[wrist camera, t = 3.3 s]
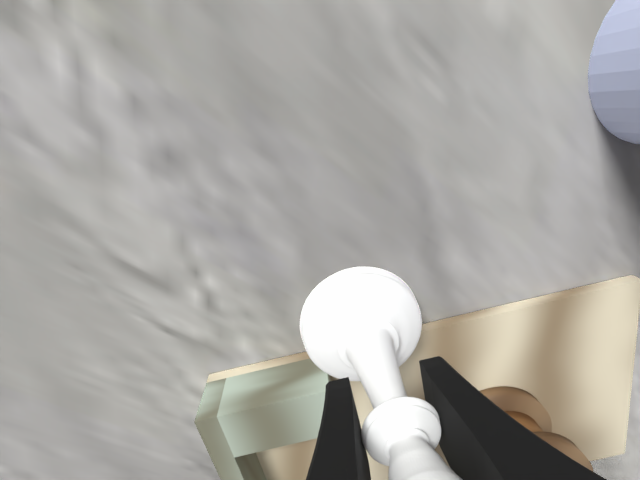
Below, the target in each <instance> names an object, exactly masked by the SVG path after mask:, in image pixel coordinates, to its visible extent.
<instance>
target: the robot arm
mask: <svg viewBox="0 0 640 480" xmlns="http://www.w3.org/2000/svg"><path fill="white" fill-rule="evenodd" d="M588 86H589V95H590V99H591V103H592V107H593V109H594V111H595V113H596V115H597V117H598V119H599V121H600V122H601V123H602V124H603V125H604V127H605V128H606V129H607V130H608V131H609V132H610V133H612V134H613V135H615V136H616V137H618V138H619V139H621V140H624V141H627V142H630V143H633V144H640V0H616V1H615V2H614V4H613V5H612V7H611V8H610V10H609V12H608V13H607V15H606V16H605V18H604V20H603V22H602V24H601V27H600V29H599V31H598V33H597V35H596V38H595V41H594V45H593V48H592V52H591V55H590V62H589V70H588ZM419 364H420V370H421V377H422V383H423V390H424V396H425V401H426V402H428V403H429V404H431V405H432V406H433V407H434V408H435V410H436V411H437V413H438V415H439V420H440V425H441V438H440V441H439V445H440V448H441V450H442V452H443V454H444V456H445V458H446V460H447V462H448V464H449V466H450V468H451V469H452V470H453V471H454V472H455V473H456V474H457V475H458V476H459V477H460V478H461V479H463V480H606V479H604V478H603V477H601V476H599V475H598V474H596V473H594V472H593V471H591V470H589V469H588V468H586V467H584V466H583V465H581V464H580V463H578V462H576V461H575V460H573V459H571V458H570V457H568V456H567V455H565V454H564V453H562V452H561V451H559V450H558V449H556V448H554V447H553V446H551V445H550V444H548V443H547V442H546V441H544V440H543V439H541V438H540V437H538V436H537V435H535V434H534V433H533V432H531V431H530V430H528V429H527V428H526V427H524V426H523V425H522V424H520V423H519V422H518V421H516V420H515V419H514V418H512V417H511V416H510V415H508V414H507V413H506V412H504V411H503V410H502V409H501V408H499V407H498V406H497V405H496V404H494V403H493V402H492V401H491V400H489V399H488V398H487V397H486V396H485V395H483V394H482V393H481V392H480V391H479V390H477V389H476V388H475V387H474V386H473V385H472V384H470V383H469V382H468V381H467V380H466V379H465V378H464V377H463V376H461V375H460V374H459V373H458V372H457V371H456V370H455V369H454V368H453V367H452V366H451V365H450V364H449V363H447V362H446V361H445V360H444V359H443V358H442V357H440V356H437V357H433V358H428V359H424V360H420V361H419ZM306 480H371V475H370V467H369V462H368V457H367V452H366V448H365V447H364V445H363V442H362V438H361V425H360V421H359V417H358V413H357V409H356V405H355V401H354V397H353V393H352V389H351V385H350V381H349V377H346V378H342V379H338V380H333V381H329V382H328V383H327V384H326V390H325V401H324V408H323V414H322V419H321V424H320V429H319V433H318V437H317V441H316V446H315V450H314V453H313V457H312V460H311V463H310V467H309V470H308V474H307V477H306Z"/></svg>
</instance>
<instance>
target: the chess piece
mask: <svg viewBox="0 0 640 480" xmlns="http://www.w3.org/2000/svg"><path fill="white" fill-rule="evenodd" d="M421 330H422V316H421V311H420V308H419V305H418V303H417V301H416V298H415V296H414V294H413V292H412V290H411V289H410V287H409V286H408V285H407V284H406V283H405V282H404V281H403V280H402V279H401V278H399V277H398V276H396V275H395V274H393V273H391V272H389V271H387V270H384V269H380V268H376V267H353V268H348V269H345V270H342V271H339V272H337V273H335V274H333V275H331V276H329V277H327V278H326V279H324V280H323V281H322V282H321V283H319V284H318V285H317V286H316V287H315V288H314V289H313V291H312V292H311V293H310V295H309V296H308V298H307V299H306V301H305V303H304V306H303V308H302V312H301V316H300V333H301V338H302V341H303V343H304V347H305V349H306V352H307V354H308V355H309V357H310V359H311V360H312V361H313V362H314V364H315V365H316V366H317V367H318V368H320V369H321V370H322V371H324V372H325V373H327V374H329V375H331V376H333V377H335V378H338V379H342V378H346V377H349V381H361V383H362V385H363V387H364V389H365V391H366V393H367V395H368V397H369V400H370V402H371V404H372V407H373V410H372V411H371V412H370V413H369V415H368V416H367V417H366V419H365V421H364V423H363V426H362V430H361V438H362V442H363V445H364V447H365V448H366V450H367V451H368V453H369V455H370V456H371V457H372V458H373V459H374V460H375V461H377V462H378V463H380V464H383V465H385V466H389V471H388V479H389V480H463V479H461V478H460V477H459V476H458V475H457V474H456V473H455V472H454V471H453V470H452V469H451V468H450V467H449V466H448V465H447V464H446V463H445V461H444V460H443V459H442V457H441V456H440V455H439V454H438V453H437V452H436V451H435V448H436V447H437V445H438V443H439V441H440V438H441V425H440V420H439V415H438V413H437V411H436V410H435V408H434V407H433V406H432V405H431V404H429V403H428V402H426V401H424V400H422V399H419V398H415V397H407V394H406V391H405V388H404V385H403V381H402V378H401V374H400V370H399V367H400V366H401V365H402V364H403V363H404V362H405V361H406V360H407V359H408V358H409V357H410V355H411V354H412V353H413V351H414V349H415V348H416V346H417V344H418V341H419V338H420V335H421Z"/></svg>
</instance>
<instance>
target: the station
mask: <svg viewBox="0 0 640 480" xmlns="http://www.w3.org/2000/svg"><path fill="white" fill-rule="evenodd" d="M639 309H640V279H639V278H637V277H635V276H633V275H628V276H624V277H620V278H616V279H611V280H607V281H603V282H599V283H595V284H590V285H586V286H582V287H578V288H573V289H569V290H565V291H561V292H556V293H552V294H548V295H544V296H539V297H535V298H531V299H527V300H522V301H518V302H514V303H510V304H506V305H501V306H497V307H493V308H489V309H484V310H480V311H476V312H472V313H467V314H463V315H459V316H455V317H450V318H446V319H442V320H438V321H433V322H429V323H425V324H422V330H421V335H420V338H419V341H418V344H417V346H416V348H415V349H414V351H413V353H412V354H411V355H410V357H409V358H408V359H407V360H406V361H405V362H404V363H403V364H402V365H401V366H400V367H399V370H400V374H401V378H402V381H403V385H404V388H405V391H406V394H407V397H415V398H419V399H422V400H424V401H425V396H424V390H423V383H422V377H421V370H420V364H419V361H420V360H424V359H428V358H433V357H437V356H440V357H442V358H443V359H444V360H445V361H446V362H447V363H449V364H450V365H451V366H452V367H453V368H454V369H455V370H456V371H457V372H458V373H459V374H460V375H461V376H463V377H464V378H465V379H466V380H467V381H468V382H469V383H470V384H472V385H473V386H474V387H475V388H476V389H477V390H479V391H480V392H481V393H482V394H483V395H485V396H486V397H487V398H488V399H489V400H491V401H492V402H493V403H494V404H496V405H497V406H498V407H499V408H501V409H502V410H503V411H504V412H506V413H507V414H508V415H510V416H511V417H512V418H514V419H515V420H516V421H518V422H519V423H520V424H522V425H523V426H524V427H526V428H527V429H528V430H530V431H531V432H533V433H534V434H535V435H537V436H538V437H540V438H541V439H543V440H544V441H546V442H547V443H548V444H550V445H551V446H553V447H554V448H556V449H558V450H559V451H561V452H562V453H564V454H565V455H567V456H568V457H570V458H571V459H573V460H575V461H576V462H578V463H580V464H581V465H583V466H584V467H586V468H588V469H589V470H591V471H593V468H592V465H591V463H590V461H594V460H598V459H603V458H607V457H611V456H616V455H620V454H624V453H625V446H626V437H627V427H628V417H629V407H630V397H631V388H632V378H633V368H634V358H635V348H636V339H637V329H638V319H639ZM333 380H338V378H335V377H333V376H331V375H329V374H327V373H325V372H324V371H322V370H321V369H320V368H318V367H317V366H316V365H315V364H314V362H313V361H312V360H311V359H310V357H309V355H308V354H307V352H302V353H298V354H294V355H289V356H285V357H281V358H277V359H272V360H268V361H264V362H260V363H255V364H251V365H247V366H243V367H238V368H234V369H230V370H226V371H221V372H217V373H213V374H209V377H208V380H207V383H206V386H205V390H204V393H203V396H202V399H201V402H200V406H199V409H198V412H197V415H196V418H195V425H196V427H197V429H198V431H199V433H200V435H201V438H202V440H203V442H204V444H205V446H206V448H207V451H208V453H209V455H210V457H211V459H212V462H213V464H214V466H215V468H216V470H217V472H218V475H219V477H220V479H221V480H306V477H307V474H308V470H309V467H310V463H311V460H312V457H313V453H314V450H315V446H316V441H317V437H318V433H319V429H320V424H321V419H322V414H323V408H324V401H325V390H326V384H327V383H328V382H329V381H333ZM350 385H351V389H352V393H353V397H354V401H355V405H356V409H357V413H358V417H359V421H360V425H361V430H362V426H363V423H364V421H365V419H366V417H367V416H368V415H369V413H370V412H371V411H372V410H373V407H372V404H371V402H370V400H369V397H368V395H367V393H366V391H365V389H364V387H363V385H362V383H361V381H350ZM435 451H436V452H437V453H438V454H439V455H440V456H441V457H442V459H443V460H444V461H445V463H446V464H447V465H448V466H449V464H448V462H447V460H446V458H445V456H444V454H443V452H442V450H441V448H440V445H439V443H438V445H437V447H436V448H435ZM366 452H367V457H368V462H369V467H370V475H371V480H389V479H388V471H389V466H385V465H383V464H380V463H378V462H377V461H375V460H374V459H373V458H372V457H371V456H370V455H369V453H368V451H367V450H366ZM449 467H450V466H449Z"/></svg>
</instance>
